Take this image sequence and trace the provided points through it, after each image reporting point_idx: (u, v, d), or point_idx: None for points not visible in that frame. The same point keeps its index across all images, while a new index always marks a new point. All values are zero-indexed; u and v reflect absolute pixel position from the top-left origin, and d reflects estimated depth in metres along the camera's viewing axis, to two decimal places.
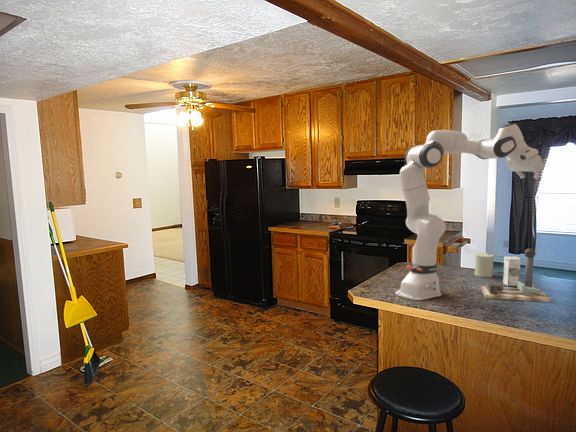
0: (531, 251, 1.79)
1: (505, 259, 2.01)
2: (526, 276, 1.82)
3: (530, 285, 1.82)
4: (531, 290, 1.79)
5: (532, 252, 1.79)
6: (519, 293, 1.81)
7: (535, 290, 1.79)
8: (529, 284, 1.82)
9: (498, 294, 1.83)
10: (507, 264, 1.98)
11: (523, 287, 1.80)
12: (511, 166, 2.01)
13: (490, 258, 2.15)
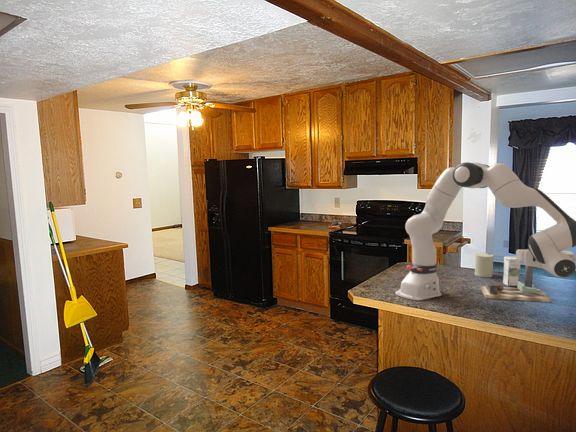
0: None
1: (505, 259, 2.01)
2: (526, 276, 1.82)
3: (530, 285, 1.82)
4: (531, 290, 1.79)
5: None
6: (519, 293, 1.81)
7: (535, 290, 1.79)
8: (529, 284, 1.82)
9: (498, 294, 1.83)
10: (507, 264, 1.98)
11: (523, 287, 1.80)
12: (563, 251, 1.60)
13: (490, 258, 2.15)
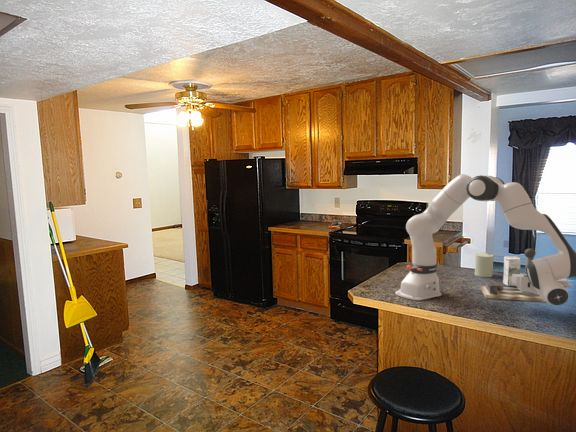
0: (531, 251, 1.79)
1: (505, 259, 2.01)
2: None
3: None
4: None
5: (532, 252, 1.79)
6: (519, 293, 1.81)
7: None
8: None
9: (498, 294, 1.83)
10: (507, 264, 1.98)
11: None
12: None
13: (490, 258, 2.15)
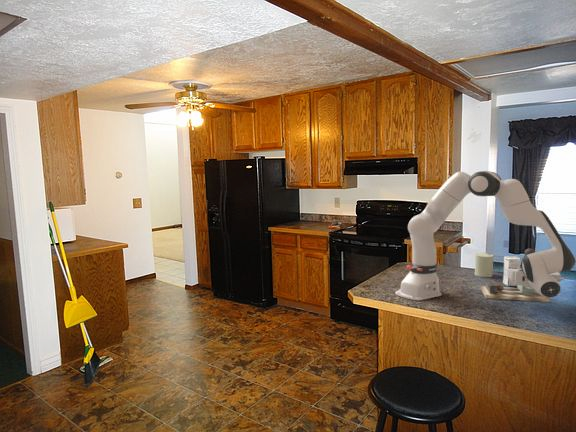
0: (531, 251, 1.79)
1: (505, 259, 2.01)
2: None
3: None
4: (531, 290, 1.79)
5: (532, 252, 1.79)
6: (519, 293, 1.81)
7: None
8: None
9: (498, 294, 1.83)
10: (507, 264, 1.98)
11: (523, 287, 1.80)
12: None
13: (490, 258, 2.15)
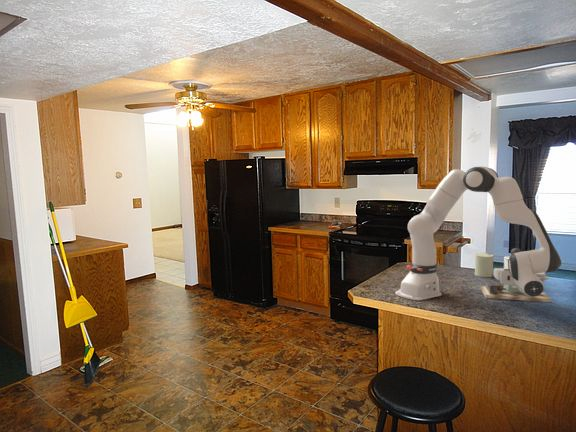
0: (517, 251, 1.81)
1: (505, 259, 2.01)
2: None
3: None
4: (517, 289, 1.81)
5: None
6: (519, 293, 1.81)
7: None
8: None
9: (498, 294, 1.83)
10: (507, 264, 1.98)
11: (509, 286, 1.82)
12: None
13: (490, 258, 2.15)
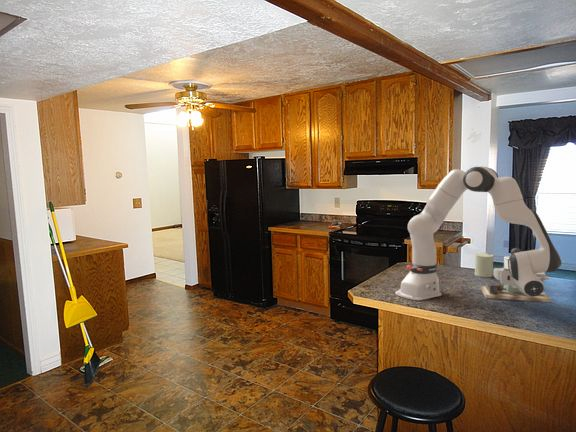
0: (517, 251, 1.81)
1: (505, 259, 2.01)
2: None
3: None
4: (517, 289, 1.81)
5: None
6: (519, 293, 1.81)
7: None
8: None
9: (498, 294, 1.83)
10: (507, 264, 1.98)
11: (509, 286, 1.82)
12: None
13: (490, 258, 2.15)
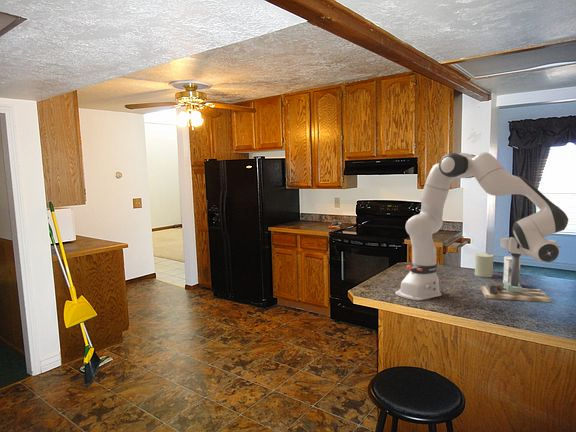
0: None
1: (505, 259, 2.01)
2: (512, 275, 1.84)
3: (516, 284, 1.83)
4: (517, 289, 1.81)
5: None
6: (519, 293, 1.81)
7: (521, 289, 1.80)
8: (515, 283, 1.83)
9: (498, 294, 1.83)
10: (507, 264, 1.98)
11: (509, 286, 1.82)
12: None
13: (490, 258, 2.15)
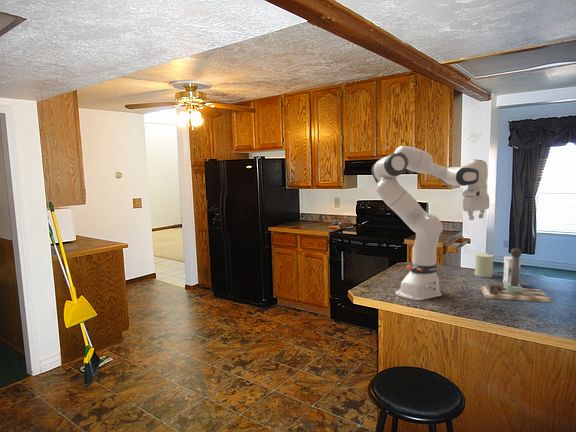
0: (517, 251, 1.81)
1: (505, 259, 2.01)
2: (512, 275, 1.84)
3: (516, 284, 1.83)
4: (517, 289, 1.81)
5: (518, 252, 1.81)
6: (519, 293, 1.81)
7: (521, 289, 1.80)
8: (515, 283, 1.83)
9: (498, 294, 1.83)
10: (507, 264, 1.98)
11: (509, 286, 1.82)
12: None
13: (490, 258, 2.15)
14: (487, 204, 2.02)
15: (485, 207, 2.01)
